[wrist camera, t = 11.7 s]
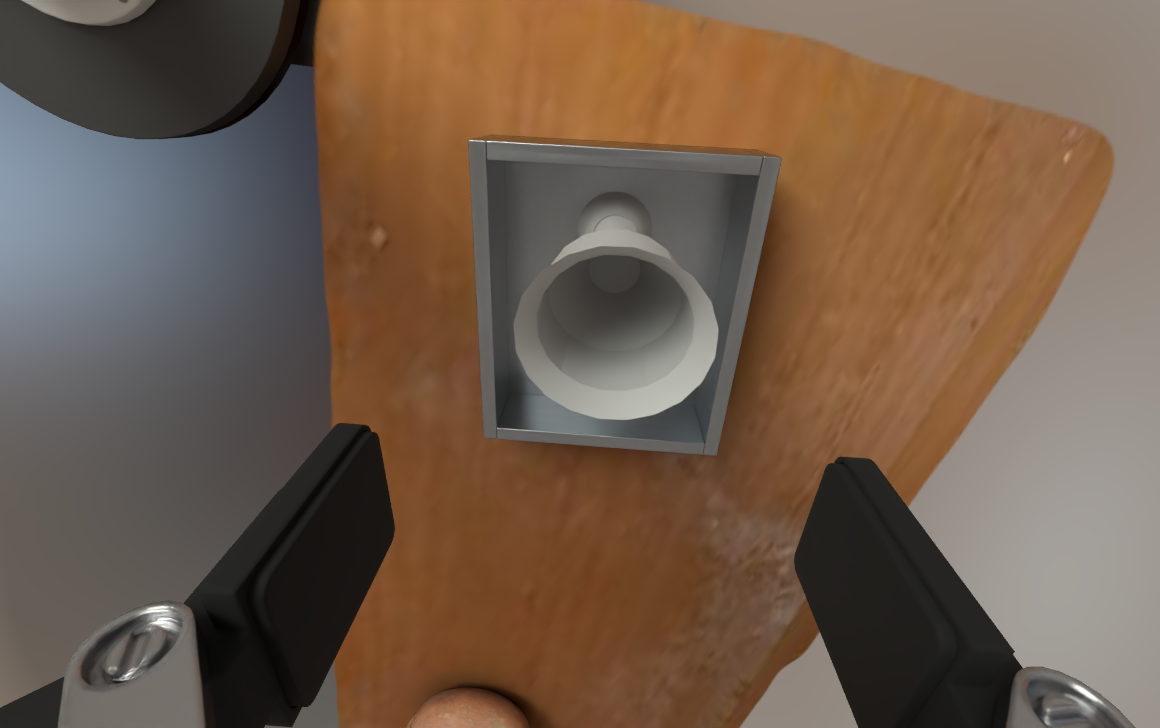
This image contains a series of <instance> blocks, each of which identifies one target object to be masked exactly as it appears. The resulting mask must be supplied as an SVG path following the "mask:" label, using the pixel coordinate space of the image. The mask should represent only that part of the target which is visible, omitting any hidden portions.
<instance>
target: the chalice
mask: <svg viewBox="0 0 1160 728" xmlns="http://www.w3.org/2000/svg"><path fill="white" fill-rule="evenodd" d="M651 236H652V222H651V218H650V214H649V212H648V211H647V209H646V207H645V206H644V204H643V203H642V202H641V201H639V200H638V199H637V198H635V197H634V196H633V195H630V194H627V193H624V192H607V193H604V194H601V195H598V196H597V197H595V198H594V199H592V200H591V201H590V202H588V204H587V205H586V206H585V208H584V209H583V211H582V212H581V215H580V218H579V221H578V239H576V240H575V241H573V242H572V243H570V244H569V245H567V246H565V247H564V248H563V250H562V251H561V252H560V254H559V255H558V256H557V257H556V259H555V260H554V261H553V262H552V264H551V266H549V267H547V268H546V269H544V270H543V271H541V272H540V273H539V275H538V276H537V277H536V278H535V280H534V281H533V282H532V283H531V285H530V286H529V287H528V289H527V290H526V291H525V292H524V294H523V295H522V297H521V300H520V303H519V307H518V310H517V313H516V317H515V320H514V335H515V347H516V352H517V355H518V357H519V359H520V361H521V363H522V365H523V367H524V369H525V372H526V374H527V376H528V377H529V378H530V379H531V380H532V381H533V382H534V383H535V384H536V385H537V387H538V388H539V389H540V390H541V391H542V392H543V393H544V394H545V395H546V396H547V397H549V398H550V399H552V400H554V401H556V402H557V403H559V404H561V405H562V406H564V407H566V408H567V409H569V410H571V411H574V412H577V413H581V414H584V415H587V416H591V417H594V418H598V419H615V420H630V419H635V418H640V417H645V416H650V415H655V414H657V413H659V412H661V411H663V410H665V409H668V408H670V407H672V406H674V405H676V404H678V403H680V402H681V401H683V400H684V399H685V398H686V397H687V396H688V395H689V394H690V393H691V392H692V391H693V390H694V389H696V388H697V387H698V386H699V385H700V384H701V383H702V382H703V380H704V378H705V376H706V374H707V372H708V370H709V369H710V367H711V365H712V363H713V361H714V359H715V356H716V348H717V340H718V332H719V329H718V325H717V321H716V318H715V314H714V310H713V306H712V302H711V300H710V299H709V298H708V296H707V295H706V293H705V292H704V291H703V289H702V288H701V287H700V285H699V284H698V282H697V281H696V280H695V278H694V277H693V276H692V275H690V274H689V273H688V272H686V271H685V270H683V269H682V268H681V267H679V265H678V264H677V262H676V261H675V260H674V258H673V257H672V255H671V254H670V253H669V251H668V250H667V249H666V248H664V247H663V246H661V245H660V244H659V243H657V242H656V241H654V240H653V239H652V238H651Z"/></svg>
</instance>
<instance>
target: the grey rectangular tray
mask: <svg viewBox="0 0 1160 728" xmlns="http://www.w3.org/2000/svg"><path fill="white" fill-rule="evenodd" d="M468 148H469V167H470V186H471V205H472V224H473V243H474V262H475V281H476V300H477V319H478V338H479V357H480V376H481V395H482V414H483V433H484V438H493V439H504V440H517V441H530V442H543V443H556V444H569V445H582V446H595V447H608V448H621V449H634V450H647V451H660V452H673V453H686V454H699V455H702V454H703V455H712V456H716V455H717V451H718V447H719V442H720V438H721V433H722V429H723V424H724V419H725V415H726V410H727V406H728V401H729V397H730V392H731V388H732V383H733V379H734V374H735V369H736V365H737V360H738V356H739V351H740V347H741V342H742V338H743V333H744V328H745V324H746V319H747V315H748V310H749V306H750V301H751V297H752V292H753V288H754V283H755V278H756V274H757V269H758V265H759V260H760V256H761V251H762V247H763V242H764V237H765V233H766V228H767V224H768V219H769V215H770V210H771V206H772V201H773V197H774V192H775V187H776V183H777V178H778V174H779V169H780V165H781V160H782V157H779V156H776V155H772V154H769V153H766V152H762V151H759V150H753V149H735V148H717V147H699V146H681V145H663V144H645V143H627V142H609V141H592V140H574V139H556V138H538V137H520V136H502V135H488V136H483V137H479V138H474V139H470V140H468ZM607 192H624V193H627V194H630V195H633V196H634V197H635V198H637V199H638V200H639V201H641V202H642V203H643V204H644V206H645V207H646V209H647V211H648V212H649V214H650V218H651V222H652V236H651V238H652V239H653V240H654V241H656V242H657V243H659V244H660V245H661V246H663V247H664V248H666V249H667V250H668V251H669V253H670V254H671V255H672V257H673V258H674V260H675V261H676V262H677V264H678V265H679V267H681V268H682V269H683V270H685V271H686V272H688V273H689V274H690V275H692V276H693V277H694V278H695V280H696V281H697V282H698V284H699V285H700V287H701V288H702V289H703V291H704V292H705V293H706V295H707V296H708V298H709V299H710V300H711V302H712V306H713V310H714V314H715V318H716V321H717V325H718V329H719V332H718V340H717V348H716V356H715V359H714V361H713V363H712V365H711V367H710V369H709V370H708V372H707V374H706V376H705V378H704V380H703V382H702V383H701V384H700V385H699V386H698V387H697V388H696V389H694V390H693V391H692V392H691V393H690V394H689V395H688V396H687V397H686V398H685V399H684V400H683V401H681V402H680V403H678V404H676V405H674V406H672V407H670V408H668V409H665V410H663V411H661V412H659V413H657V414H655V415H650V416H645V417H640V418H635V419H630V420H615V419H598V418H594V417H591V416H587V415H584V414H581V413H577V412H574V411H571V410H569V409H567V408H566V407H564V406H562V405H561V404H559V403H557V402H556V401H554V400H552V399H550V398H549V397H547V396H546V395H545V394H544V393H543V392H542V391H541V390H540V389H539V388H538V387H537V385H536V384H535V383H534V382H533V381H532V380H531V379H530V378H529V377H528V376H527V374H526V372H525V369H524V367H523V365H522V363H521V361H520V359H519V357H518V355H517V352H516V347H515V335H514V320H515V317H516V313H517V310H518V307H519V303H520V300H521V297H522V295H523V294H524V292H525V291H526V290H527V289H528V287H529V286H530V285H531V283H532V282H533V281H534V280H535V278H536V277H537V276H538V275H539V273H540V272H541V271H543V270H544V269H546V268H547V267H549V266H551V264H552V262H553V261H554V260H555V259H556V257H557V256H558V255H559V254H560V252H561V251H562V250H563V248H564V247H565V246H567V245H569V244H570V243H572V242H573V241H575V240H576V239H578V221H579V218H580V215H581V212H582V211H583V209H584V208H585V206H586V205H587V204H588V202H590V201H591V200H592V199H594V198H595V197H597V196H598V195H601V194H604V193H607Z"/></svg>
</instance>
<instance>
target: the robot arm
mask: <svg viewBox="0 0 1160 728" xmlns="http://www.w3.org/2000/svg"><path fill="white" fill-rule="evenodd" d="M22 1H23V2H25V3H27V4H29V5H31V6H32V7H34V8H36V9H38V10H39V11H41V12H43V13H46V14H48V15H51V16H54V17H56V18H59V19H62V20H64V21H69V22H75V23H80V24H85V25H96V26H112V25H117V24H122V23H127V22H129V21H131V20H132V19H134V18H136V17H138V16H140V15H142V14H143V13H144V12H145V11H146V10H147V9H148V8H149V7H150V6H151V5H152V4H153V3H154V2H155V1H156V0H22ZM394 531H395V525H394V519H393V513H392V508H391V502H390V496H389V491H388V485H387V480H386V474H385V469H384V463H383V458H382V452H381V446H380V441H379V437H378V434H377V433H375V432H371V429H370V428H369V426H367V425H360V424H346V423H339V424H337V425H336V426H335V427H334V428H333V429H332V430H331V431H330V432H329V434H328V435H327V436H326V437H325V438H324V440H323V441H322V442H321V443H320V444H319V445H318V447H317V448H316V449H315V450H314V451H313V452H312V454H311V455H310V456H309V457H308V458H307V460H306V461H305V462H304V463H303V464H302V466H301V467H300V468H299V469H298V470H297V471H296V473H295V474H294V475H293V476H292V478H291V479H290V480H289V481H288V482H287V483H286V485H285V486H284V487H283V488H282V489H281V490H280V491H278V492H277V494H276V495H275V496H274V497H273V498H272V499H271V501H270V502H269V503H268V504H267V505H266V507H265V508H264V509H263V510H262V511H261V512H260V514H259V515H258V516H257V517H256V518H255V520H254V521H253V522H252V523H251V524H250V525H249V527H248V528H247V529H246V530H245V531H244V533H243V534H242V535H241V536H240V537H239V538H238V540H237V541H236V542H235V543H234V544H233V545H232V547H231V548H230V549H229V550H228V552H227V553H226V554H225V555H224V556H223V557H222V559H221V560H220V561H219V562H218V563H217V564H216V566H215V567H214V568H213V569H212V570H211V572H210V573H209V574H208V575H207V576H206V577H205V579H204V580H203V581H202V582H201V583H200V584H199V586H198V587H197V588H196V589H195V590H194V592H193V593H192V594H191V595H190V596H189V598H188V599H187V600H186V601H185V602H184V603H181V602H175V601H160V602H153V603H150V604H146V605H143V606H140V607H137V608H134V609H132V610H130V611H128V612H126V613H124V614H122V615H120V616H118V617H116V618H114V619H113V620H111V621H110V622H108V623H107V624H105V625H104V626H102V627H101V628H99V629H98V630H97V631H96V632H94V633H93V634H92V635H91V636H90V637H89V638H88V639H87V640H86V641H85V642H84V643H83V644H82V645H81V646H80V647H79V649H78V650H77V652H76V653H75V654H74V656H73V657H72V658H71V660H70V662H69V665H68V667H67V670H66V673H65V676H64V677H62V678H60V679H58V680H56V681H54V682H52V683H50V684H48V685H46V686H44V687H42V688H40V689H38V690H36V691H34V692H32V693H30V694H28V695H26V696H23V697H21V698H19V699H17V700H15V701H13V702H11V703H9V704H7V705H5V706H3V707H1V708H0V728H264V727H265V725H271V726H283V727H292V726H293V724H294V722H295V720H296V718H297V716H298V714H299V712H300V710H301V708H302V707H308V706H309V705H311V703H312V702H313V701H314V699H315V698H316V696H317V694H318V692H319V690H320V688H321V686H322V684H323V682H324V680H325V678H326V675H327V673H328V671H329V669H330V667H331V665H332V663H333V661H334V659H335V657H336V655H337V653H338V651H339V649H340V647H341V645H342V643H343V641H344V639H345V637H346V635H347V633H348V631H349V629H350V627H351V625H352V623H353V621H354V618H355V616H356V614H357V612H358V610H359V608H360V606H361V604H362V602H363V600H364V598H365V596H366V594H367V592H368V590H369V588H370V586H371V584H372V582H373V580H374V578H375V576H376V574H377V572H378V570H379V568H380V565H381V563H382V561H383V559H384V557H385V555H386V553H387V551H388V549H389V547H390V545H391V543H392V540H393V537H394ZM794 563H795V570H796V573H797V576H798V578H799V581H800V583H801V586H802V588H803V591H804V593H805V596H806V598H807V601H808V603H809V606H810V608H811V610H812V613H813V615H814V618H815V620H816V623H817V625H818V628H819V630H820V633H821V635H822V638H823V640H824V643H825V645H826V648H827V650H828V652H829V655H830V658H831V660H832V663H833V665H834V667H835V670H836V673H837V675H838V678H839V680H840V682H841V685H842V688H843V690H844V693H845V695H846V698H847V700H848V703H849V705H850V708H851V710H852V712H853V715H854V718H855V720H856V723H857V725H858V728H1135V727H1134V726H1133V725H1132V723H1131V722H1130V721H1129V720H1128V719H1127V718H1126V717H1125V716H1124V715H1123V714H1122V713H1121V711H1120V710H1119V709H1117V708H1116V707H1115V706H1114V705H1113V704H1112V703H1110V702H1109V701H1108V700H1107V699H1105V698H1104V697H1103V696H1102V695H1101V694H1099V693H1098V692H1096V691H1095V690H1093V689H1092V688H1090V687H1089V686H1087V685H1085V684H1084V683H1082V682H1081V681H1079V680H1077V679H1075V678H1073V677H1070V676H1068V675H1066V674H1064V673H1062V672H1060V671H1056V670H1052V669H1049V668H1045V667H1026V668H1024V669H1023V668H1022V666H1021V665H1020V664H1019V662H1018V661H1017V660H1016V658H1015V657H1014V656H1013V653H1014V652H1015V651H1014V650H1013V649H1012V648H1011V646H1010V645H1009V644H1008V642H1007V641H1006V639H1005V638H1004V637H1003V635H1002V634H1001V633H1000V631H999V630H998V629H997V627H996V626H995V625H994V623H993V622H992V620H991V619H990V618H989V616H988V615H987V614H986V612H985V611H984V610H983V608H982V607H981V606H980V604H979V603H978V602H977V600H976V599H975V598H974V596H973V595H972V594H971V592H970V591H969V589H968V588H967V587H966V585H965V584H964V583H963V581H962V580H961V579H960V577H959V576H958V575H957V573H956V572H955V571H954V569H953V568H952V566H951V565H950V564H949V562H948V561H947V560H946V558H945V557H944V556H943V554H942V553H941V552H940V550H939V549H938V548H937V546H936V545H935V544H934V542H933V541H932V539H931V538H930V537H929V535H928V534H927V533H926V532H925V530H924V529H923V527H922V526H921V525H920V523H919V522H918V521H917V519H916V518H915V517H914V515H913V514H912V513H911V511H910V510H909V508H908V507H907V506H906V504H905V503H904V502H903V500H902V499H901V498H900V496H899V495H898V494H897V492H896V491H895V490H894V488H893V487H892V486H891V484H890V483H889V481H888V480H887V479H886V477H885V476H884V475H883V473H882V472H881V471H880V469H879V468H878V467H877V465H876V464H875V463H874V462H873V461H872V460H870V459H867V458H852V457H839V458H837V459H836V460H835V462H834V463H830V464H828V465H827V467H826V469H825V471H824V474H823V477H822V480H821V483H820V485H819V488H818V491H817V494H816V497H815V499H814V502H813V505H812V508H811V511H810V513H809V516H808V519H807V522H806V524H805V527H804V530H803V533H802V536H801V538H800V541H799V544H798V547H797V550H796V552H795V558H794Z"/></svg>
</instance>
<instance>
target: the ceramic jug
mask: <svg viewBox="0 0 1160 728" xmlns="http://www.w3.org/2000/svg"><path fill="white" fill-rule="evenodd" d="M406 728H530V726H529V723H528V721H527V719H526V717H525V716H524V714H523V713H522V711H521V710H520V709H519V708H518V707H517V706H516V705H514V704H513V703H512V702H511V701H509V700H508V699H506V698H504V697H503V696H501V695H499V694H496V693H494V692H491V691H488V690H484V689H479V688H468V687H465V688H453V689H448V690H445V691H442V692H439V693H437V694H435V695H433V696H432V697H430V698H429V699H427V700H426V701H425V702H424V703H423V704H422V706H421V707H420V708H419V710H418V711H417V713H416V714H415V715H414V717H413V718H412V719H411V720H410V721H409V723H408V724H407V726H406Z"/></svg>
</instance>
